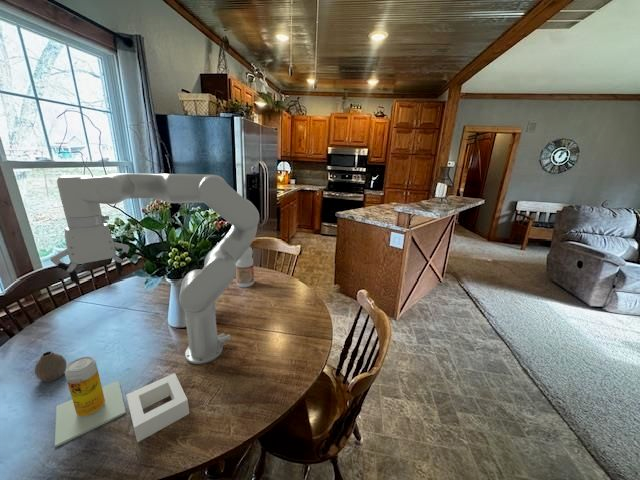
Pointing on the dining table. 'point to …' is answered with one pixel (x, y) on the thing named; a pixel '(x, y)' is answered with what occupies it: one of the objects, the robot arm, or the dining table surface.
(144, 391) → the sleeve
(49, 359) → the vase
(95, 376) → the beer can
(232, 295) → the dining table surface
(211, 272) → the robot arm
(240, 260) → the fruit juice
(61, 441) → the mat
